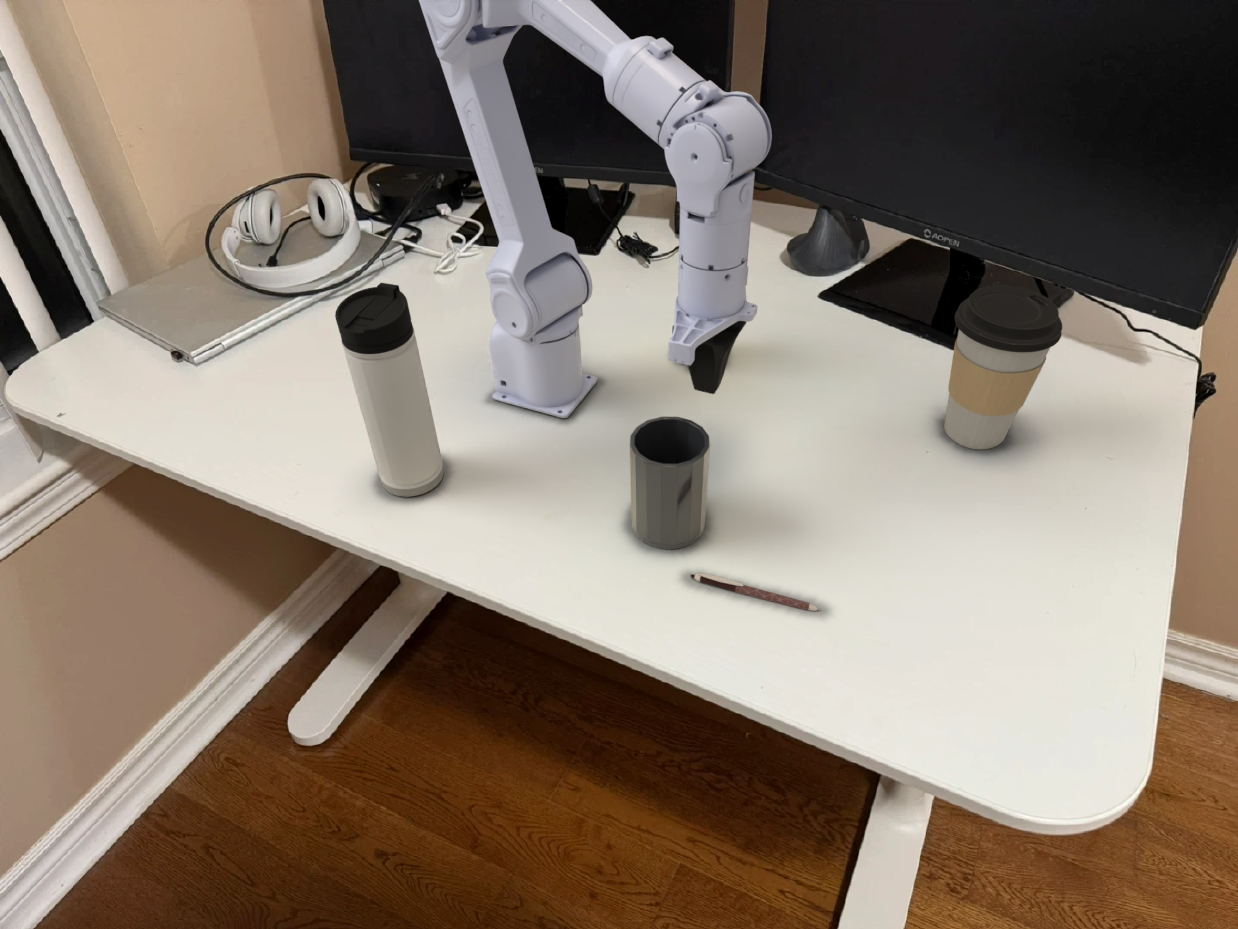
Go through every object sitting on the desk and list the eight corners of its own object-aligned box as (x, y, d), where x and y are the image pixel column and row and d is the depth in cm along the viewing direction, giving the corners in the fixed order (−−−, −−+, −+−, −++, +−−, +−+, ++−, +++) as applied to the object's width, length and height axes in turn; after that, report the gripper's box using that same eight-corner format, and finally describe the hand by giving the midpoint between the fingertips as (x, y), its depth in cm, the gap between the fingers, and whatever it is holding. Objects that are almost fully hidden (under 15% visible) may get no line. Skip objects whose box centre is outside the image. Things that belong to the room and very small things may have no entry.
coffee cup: (1036, 429, 88) (1084, 303, 78) (996, 474, 83) (1043, 345, 73) (951, 394, 93) (986, 271, 83) (908, 434, 88) (941, 308, 78)
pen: (689, 582, 74) (689, 574, 73) (691, 575, 74) (692, 567, 74) (818, 616, 71) (820, 608, 70) (820, 608, 71) (822, 601, 70)
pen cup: (619, 536, 78) (617, 454, 71) (649, 490, 82) (649, 409, 76) (688, 558, 76) (692, 475, 69) (714, 509, 80) (720, 427, 74)
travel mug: (457, 461, 86) (422, 287, 73) (425, 503, 82) (382, 325, 69) (403, 449, 88) (360, 277, 75) (369, 490, 83) (317, 314, 70)
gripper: (730, 305, 64) (720, 444, 73) (785, 226, 73) (771, 356, 82) (644, 287, 66) (645, 424, 75) (709, 213, 76) (703, 341, 85)
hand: (706, 388), depth 79 cm, fingers closed
